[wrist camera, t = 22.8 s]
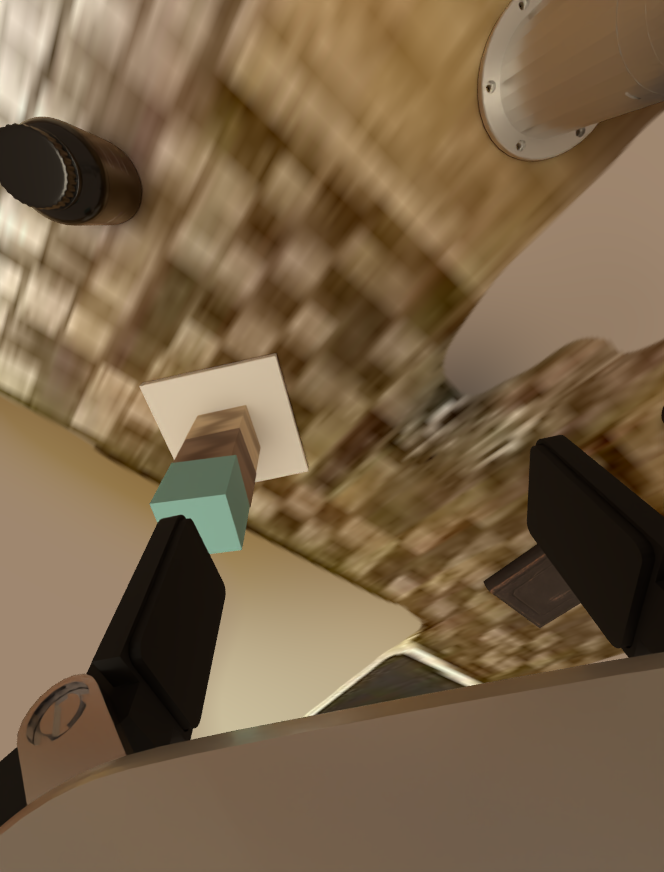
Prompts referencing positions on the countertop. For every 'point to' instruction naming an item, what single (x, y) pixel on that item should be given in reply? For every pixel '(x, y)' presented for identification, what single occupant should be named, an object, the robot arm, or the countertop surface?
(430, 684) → the countertop surface
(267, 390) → the plate
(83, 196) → the supplement bottle
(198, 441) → the walnut cube
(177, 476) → the teal cube
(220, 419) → the oak cube
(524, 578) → the hardcover book
